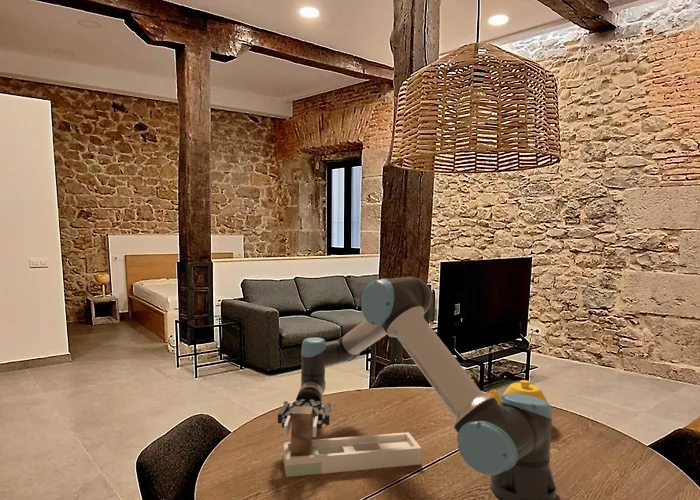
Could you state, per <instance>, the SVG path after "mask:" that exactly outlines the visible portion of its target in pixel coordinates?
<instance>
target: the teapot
mask: <svg viewBox="0 0 700 500" xmlns="http://www.w3.org/2000/svg"><path fill="white" fill-rule="evenodd" d="M507 393H517V394H524V395H529V396H533V397H537V398H540V399H542V400H544V401H546V402H548V401H547V398H546V397H545V395H544V393H543V390H541V388H540V387H539V386H537V385H535V384H532V383H531V381H529V380H526V379H522V380H519V382H513V383H511V384H510V385H508V387H506V389H505V391H504V392H503V394H502V395H504V394H507ZM488 396H492V397H494V398H495V399H496V401H497V402H498V403H499V404H500V406H501V403H500V401H501V397H502V396H500V394H499V393H498V391H496V389H492V390H490V391H489V393H488Z"/></svg>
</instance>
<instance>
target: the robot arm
mask: <svg viewBox="0 0 700 500" xmlns="http://www.w3.org/2000/svg"><path fill="white" fill-rule="evenodd" d="M432 299H433V295H432V292H431V289H430V287H429V285H428V284H427V283H426V282H425V281H424V280H422V279H421V278H418V277H414V276H404V277H394V278H380V279H377V280H373V281H371V282H369V283H368V284H367V285H366V286H365V288H364V290H363V293H362V294H361V303H360V304H361V305H360V307H361V312H362V315H363V317H364V320H363V321H361V322H360V323H359V324H357V325H356V326H355V327H354V328H352V329H351V330H349V331H348V332H347V333H345V334H344V335H343V336H342V337H340V338H338V339H336V340H331V341H326V340H325V339H324V338H321V337H315V336H314V337H308V338H304V339H303V341H302V342H301V343H302V344H301V352H300V353H301V354H300V355H301V372H300V373H301V374H300V388H299V390H298V393H297V395H296V397H295V401H293V402H292V403H290V402H289V401H287V400H286V401H283V405H282V407H280V410H279V411H278V413H277V424H281V428H282V429H283V437H288V433H289V431H290V428H291V422H292V411H293V408H294V406H305V407H313V431H312V438H316V437H317V432H318V430H321V429H322V428H323V425H325V426H329V425H330V414H331V411H332V410H331V402H326V403H324V404H323V403H322V401H323V398H324V397H323V396H324V392H325V391H326V380H325V378H326V377H325V375H326V367H329V366H332V365H337V364H341V363H344V362H351V361H353V360H355V359H357V358H359V356H360V354H361V353H362V352H363V351H364V350H366V349H367V348H369V347H370V346H372V345H373V344H374V343H377V342H378V341H380V340H381V339H382V338H384V337H385V336H386V335H387V336H388V337H390V338H396V339H397V340H398V342H400V344H401V345H402V347H403V349H404V350H405V351H406V353H408V355H409V356H410V358H411V359H412V361H413V362H414V363H415V365H416V366H417V368H418V369H419V370H420V372H421V374H423V376H424V377H425V379H426V380H427V381H428V383H429V384H430V385H431V387H432V388H433V390H434V391H435V392H436V393H437V395H438V396H439V398H440V399H441V401H442V402H443V403H444V405H445V406H446V408H447V409H448V411H449V412H450V414H452V416H453V428H454V430H455V431H456V433H457V438H456V442H457V443H458V446H457V449H458V452H459V454H460V456H461V458H462V459H463V461H464V462H465V464H466V465H468V467H470V468H472V469H473V470H474V471H476V472H478V473H480V474H484V475H487V476H490V482H489V483H490V484H489V485H490V489H491V491H492V492H493V493H494V495H495V496H497V497H498V498H500V499H501V500H555V499H556V500H557V485H556V482H555V478H554V474H553V471H552V467H551V464H550V458H551V457H550V456H551V445H552V444H551V443H552V440H551V439H552V422H553V416H552V406H551V404H550V403H549V402H548V401H547V402H546V401H544V400H542V399H540V398H537V397H533V396H529V395H524V394H517V393H507V394H504V393H503V394H504V395H503V394H502V395H501V396H500V397H501V401H500V403H501V406H500V404H499V403H498V402H497V401H496V399H495V398H494V397H492V396H490V395H486V394H483V393H484V392H483V393H482V392H481V391H482V390H481V389H480V388H479V387H478V385H477V384H476V383H475V382H474V380H473V379H472V378H471V376H469V374H468V373H467V371H466V370H465V369H464V368H463V366H462V365H461V364H460V362H459V361H458V359H457V358H456V357H455V356H454V354H452V353H451V351H450V350H449V348H448V347H447V345H446V344H445V343H444V342H443V341H442V340H441V338H440V337H439V336H438V335H437V333H436V332H435V331H434V329H433V328H432V327H431V326H430V324H429V323H428V321H427V320H426V319H425V317H424V315H425V314H427V312H428V311H429V309H430V308H431V305H432V302H433V300H432ZM321 411H323V413H321Z"/></svg>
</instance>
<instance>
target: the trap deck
mask: <svg viewBox="0 0 700 500" xmlns="http://www.w3.org/2000/svg"><path fill="white" fill-rule="evenodd" d="M282 460H283V467H284V473H285V478H288V477H289V478H290V477H300V476H309V475H321V474H332V473H342V472H343V473H344V472H355V471H365V470H373V469H374V470H377V469H383V468H384V469H387V468H395V467H397V468H398V467H406V466H408V467H409V466H417V465H419V466H420V465H422V447H421V446H420V445H419V443H418V442H417V440H415V438H414V437H413V435H412V434H411V433H410V432H408V431H407V432H406V431H405V432H397V433H394V432H393V433H383V434H381V433H380V434H372V435H371V434H369V435H357V436H344V437H331V438H321V439H320V438H317V439H312V454H311V455H308V456H296V457H291V440H290V441H282Z"/></svg>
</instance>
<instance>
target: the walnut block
mask: <svg viewBox="0 0 700 500" xmlns="http://www.w3.org/2000/svg"><path fill="white" fill-rule="evenodd" d="M313 424H314V418H313V407H305V406H294V408H293V411H292V421H291V426H290V428H291V429H290V430H291V432H290V433H291V434H290V439H291V440H290V441H291V457H296V456H308V455H311V454H312V440H313Z"/></svg>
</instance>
